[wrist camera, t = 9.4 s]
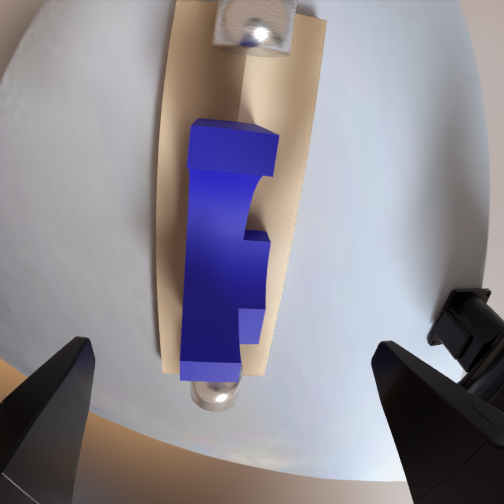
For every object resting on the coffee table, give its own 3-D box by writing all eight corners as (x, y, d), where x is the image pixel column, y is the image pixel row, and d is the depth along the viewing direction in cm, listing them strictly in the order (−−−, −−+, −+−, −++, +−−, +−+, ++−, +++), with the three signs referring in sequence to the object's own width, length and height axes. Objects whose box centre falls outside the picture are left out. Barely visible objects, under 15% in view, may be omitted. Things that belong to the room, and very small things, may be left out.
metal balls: (287, 11, 13) (306, -9, 10) (236, 375, 24) (241, 411, 20) (219, 2, 12) (221, -23, 9) (190, 374, 23) (190, 411, 20)
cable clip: (252, 314, 21) (266, 382, 16) (184, 310, 20) (180, 380, 15) (283, 128, 16) (320, 141, 10) (198, 117, 15) (190, 125, 10)
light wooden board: (319, 25, 14) (326, 20, 13) (261, 364, 25) (263, 375, 24) (178, 6, 13) (176, 0, 12) (164, 362, 24) (162, 373, 23)
